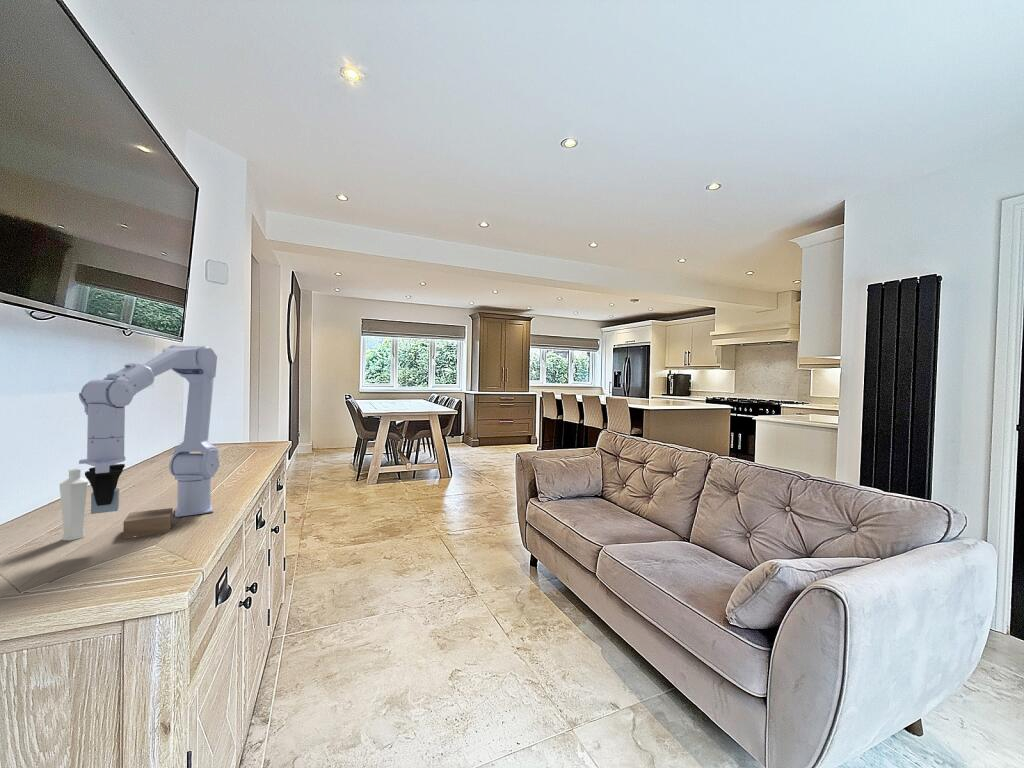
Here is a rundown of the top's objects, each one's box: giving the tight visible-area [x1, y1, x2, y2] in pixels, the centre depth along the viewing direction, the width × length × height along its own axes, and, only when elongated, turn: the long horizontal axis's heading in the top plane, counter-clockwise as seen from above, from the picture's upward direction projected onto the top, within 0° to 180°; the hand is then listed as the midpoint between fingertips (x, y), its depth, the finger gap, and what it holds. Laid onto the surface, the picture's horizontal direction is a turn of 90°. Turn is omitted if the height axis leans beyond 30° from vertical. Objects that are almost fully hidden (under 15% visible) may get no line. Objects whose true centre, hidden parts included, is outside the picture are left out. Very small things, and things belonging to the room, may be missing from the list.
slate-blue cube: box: [90, 487, 120, 515], centre depth 92 cm, size 4×4×4 cm
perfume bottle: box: [59, 468, 89, 541], centre depth 98 cm, size 5×4×15 cm
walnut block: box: [122, 507, 174, 539], centre depth 103 cm, size 8×8×4 cm
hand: (105, 502), depth 92 cm, fingers closed on slate-blue cube, 4 cm apart
